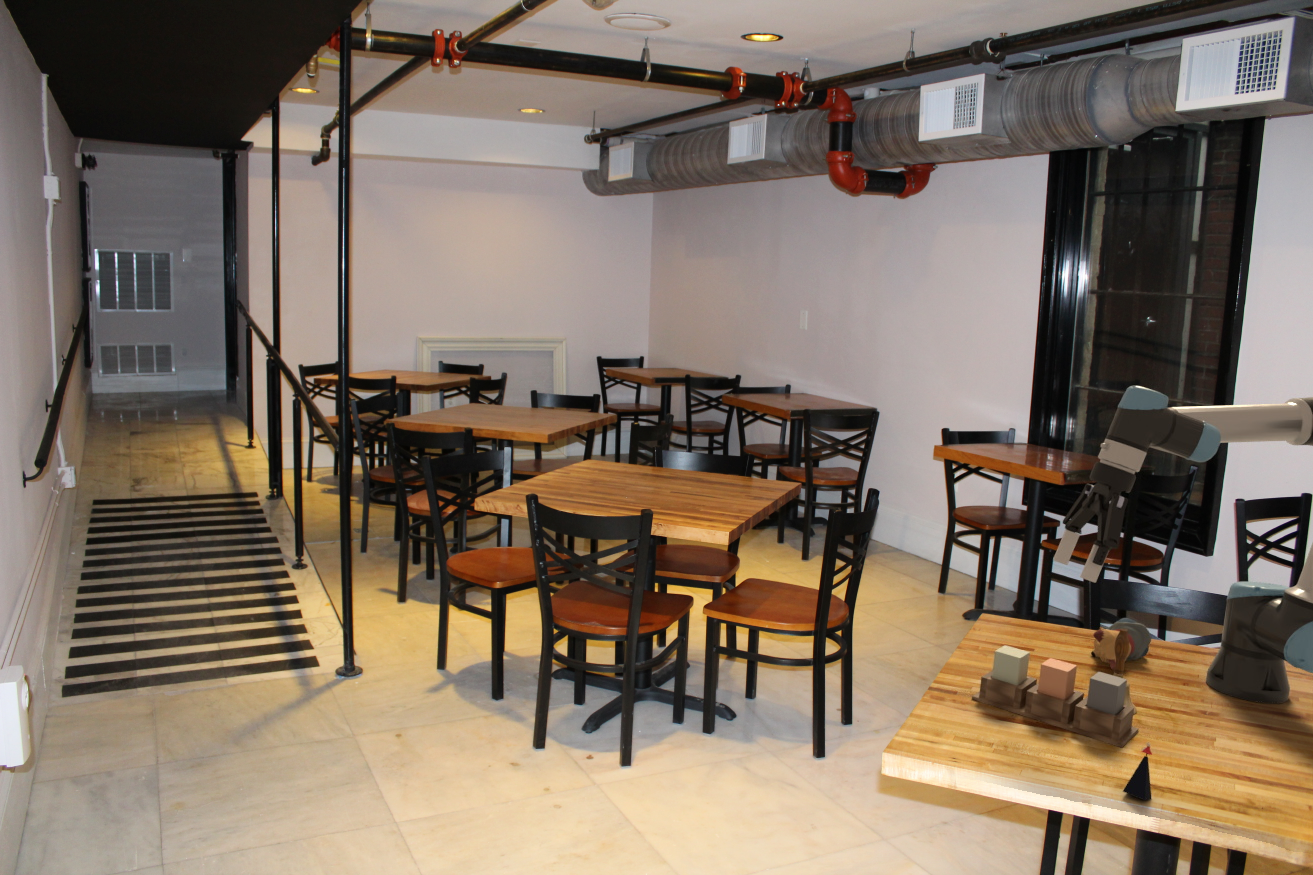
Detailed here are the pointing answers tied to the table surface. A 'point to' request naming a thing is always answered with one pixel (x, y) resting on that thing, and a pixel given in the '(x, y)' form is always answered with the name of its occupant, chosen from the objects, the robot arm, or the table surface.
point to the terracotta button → (1057, 678)
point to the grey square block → (1106, 693)
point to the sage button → (1010, 665)
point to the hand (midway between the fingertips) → (1073, 571)
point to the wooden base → (1058, 710)
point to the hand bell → (1122, 662)
